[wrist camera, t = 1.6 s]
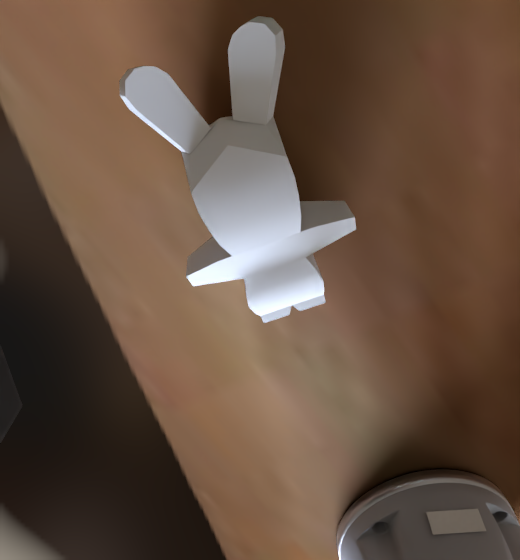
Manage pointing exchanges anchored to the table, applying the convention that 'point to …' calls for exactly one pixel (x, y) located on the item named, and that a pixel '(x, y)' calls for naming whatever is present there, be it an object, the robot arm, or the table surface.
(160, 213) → the table surface
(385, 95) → the table surface
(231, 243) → the bunny figurine
